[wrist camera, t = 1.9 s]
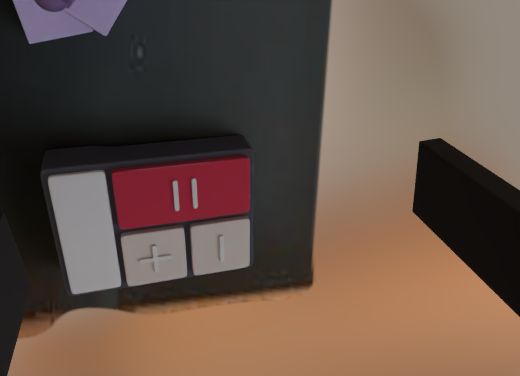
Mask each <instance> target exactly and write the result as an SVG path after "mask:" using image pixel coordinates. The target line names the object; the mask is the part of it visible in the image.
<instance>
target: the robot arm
mask: <svg viewBox="0 0 520 376" xmlns="http://www.w3.org/2000/svg"><path fill="white" fill-rule="evenodd" d="M413 212H414V213H415V214H416V215H417V216H418V217H419V218H420V219H421V220H422V221H423V222H424V223H425V224H426V225H427V226H428V227H429V228H430V229H431V230H432V231H433V232H434V233H435V234H436V235H437V236H438V237H439V238H440V239H441V240H442V241H443V242H444V243H445V244H446V245H447V246H448V247H449V248H450V249H451V250H452V251H453V252H454V253H455V254H456V255H457V256H458V257H459V258H460V259H461V260H462V261H464V263H466V265H468V266H469V267H470V268H471V269H472V270H473V271H474V272H475V273H476V274H477V275H478V276H479V277H480V278H481V279H482V280H483V281H484V282H485V283H486V284H487V285H488V286H489V287H490V288H491V289H492V290H493V291H494V292H495V293H496V294H497V295H498V296H499V297H500V298H501V299H503V301H504V302H505V303H506V304H507V305H508V306H509V307H510V308H511V309H512V310H513V311H514V312H515V313H516V314H517V315H518V316H519V317H520V190H518V189H517V188H515V187H514V186H512V185H511V184H509V183H507V182H506V181H505V180H503V179H502V178H500V177H498V176H497V175H495V174H494V173H492V172H491V171H489V170H488V169H486V168H485V167H483V166H482V165H480V164H479V163H477V162H476V161H474V160H473V159H471V158H470V157H468V156H467V155H465V154H464V153H462V152H461V151H459V150H458V149H456V148H455V147H453V146H451V145H450V144H448V143H447V142H445V141H444V140H442V139H441V138H438V139H432V140H426V141H420V142H419V152H418V162H417V173H416V182H415V192H414V203H413ZM31 287H32V285H31V282H30V280H29V277H28V274H27V272H26V269H25V266H24V264H23V261H22V258H21V256H20V253H19V251H18V248H17V245H16V243H15V240H14V237H13V235H12V232H11V229H10V227H9V224H8V221H7V219H6V216H5V213H4V211H2V212H0V376H7V374H8V370H9V367H10V363H11V359H12V356H13V352H14V349H15V345H16V341H17V338H18V334H19V330H20V327H21V323H22V319H23V316H24V312H25V308H26V305H27V301H28V298H29V294H30V290H31Z"/></svg>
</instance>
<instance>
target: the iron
mask: <svg viewBox="0 0 520 376" xmlns="http://www.w3.org/2000/svg"><path fill="white" fill-rule="evenodd" d="M126 1H127V0H13V3H14V6H15V8H16V11H17V13H18V16H19V19H20V21H21V24H22V27H23V29H24V32H25V34H26V37H27V40H28V42H29V44H33V43H38V42H43V41H48V40H53V39H58V38H63V37H68V36H73V35H78V34H83V33H88V32H92V31H93V30H96V31H97V32H99V33H101V34H102V35H104V36H107V34H108V32H109V31H110V29H111V27H112V25H113V24H114V22H115V20H116V19H117V17H118V15H119V13H120V12H121V10H122V8H123V6H124V5H125V3H126Z"/></svg>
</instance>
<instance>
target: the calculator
mask: <svg viewBox="0 0 520 376" xmlns="http://www.w3.org/2000/svg"><path fill="white" fill-rule="evenodd" d="M40 178H41V183H42V187H43V192H44V196H45V201H46V205H47V210H48V214H49V219H50V223H51V228H52V232H53V237H54V242H55V246H56V251H57V255H58V260H59V264H60V269H61V273H62V278H63V282H64V287H65V291H66V294H67V295H69V296H78V295H84V294H90V293H96V292H102V291H108V290H114V289H120V288H126V287H132V286H138V285H144V284H150V283H156V282H162V281H168V280H174V279H180V278H186V277H192V276H198V275H204V274H210V273H216V272H222V271H228V270H234V269H240V268H246V267H250V266H251V265H252V264H253V245H254V150H253V149H252V147H251V146H250V144H249V143H248V142H247V140H246V139H245V137H244V136H242V135H234V136H223V137H212V138H202V139H191V140H180V141H170V142H159V143H148V144H138V145H127V146H116V147H105V146H98V145H95V146H84V147H73V148H62V149H52V150H48V151H46V152H45V155H44V159H43V163H42V167H41V171H40Z"/></svg>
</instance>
